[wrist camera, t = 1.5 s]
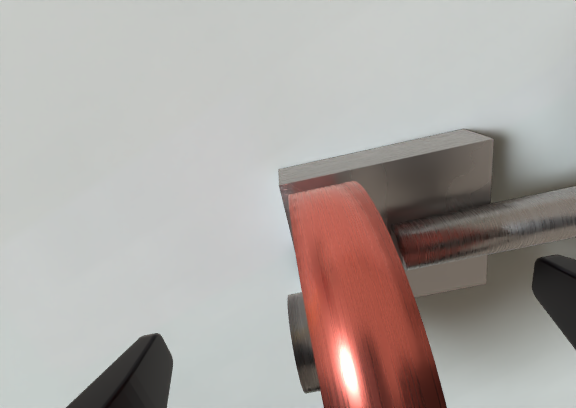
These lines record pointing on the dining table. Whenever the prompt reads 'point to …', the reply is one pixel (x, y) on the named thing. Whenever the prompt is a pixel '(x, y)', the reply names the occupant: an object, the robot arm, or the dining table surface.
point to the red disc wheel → (396, 259)
